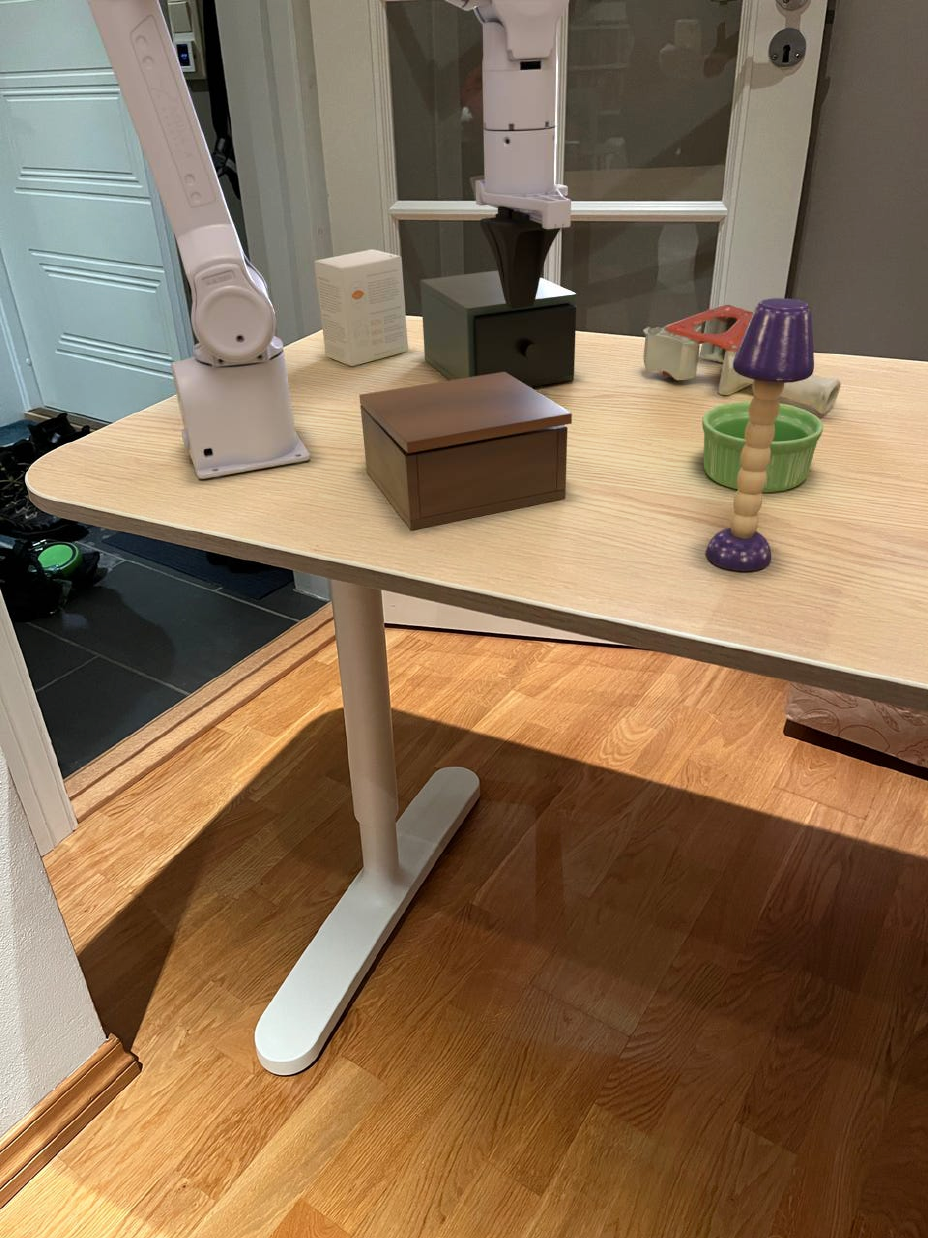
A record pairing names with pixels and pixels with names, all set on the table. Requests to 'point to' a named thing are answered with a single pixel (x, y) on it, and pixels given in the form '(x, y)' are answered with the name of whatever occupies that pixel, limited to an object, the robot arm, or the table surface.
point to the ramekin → (787, 448)
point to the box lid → (462, 411)
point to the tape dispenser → (722, 355)
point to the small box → (362, 306)
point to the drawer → (526, 343)
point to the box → (466, 474)
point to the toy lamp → (762, 420)
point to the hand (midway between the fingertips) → (519, 305)
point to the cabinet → (471, 317)
